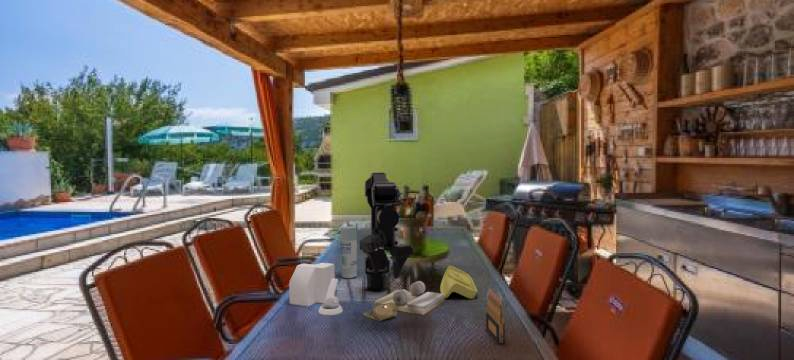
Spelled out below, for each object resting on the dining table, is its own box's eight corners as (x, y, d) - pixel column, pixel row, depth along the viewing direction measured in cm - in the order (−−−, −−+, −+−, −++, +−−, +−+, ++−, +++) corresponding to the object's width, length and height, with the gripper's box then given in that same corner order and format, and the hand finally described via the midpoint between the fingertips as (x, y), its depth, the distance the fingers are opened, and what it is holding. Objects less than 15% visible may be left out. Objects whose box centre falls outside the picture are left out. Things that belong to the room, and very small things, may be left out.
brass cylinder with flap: (382, 322, 146) (381, 308, 146) (363, 315, 153) (363, 301, 153) (397, 318, 150) (397, 303, 150) (378, 311, 157) (378, 297, 157)
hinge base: (373, 306, 161) (373, 288, 161) (397, 294, 175) (397, 277, 175) (423, 314, 153) (423, 296, 152) (444, 300, 167) (444, 283, 166)
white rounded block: (334, 298, 171) (334, 264, 171) (316, 307, 161) (315, 271, 161) (309, 294, 176) (308, 261, 175) (289, 303, 166) (288, 268, 165)
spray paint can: (360, 276, 201) (359, 226, 201) (350, 278, 195) (349, 228, 195) (347, 274, 204) (346, 226, 204) (337, 277, 199) (336, 227, 199)
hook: (349, 288, 165) (349, 280, 159) (340, 323, 159) (340, 317, 153) (327, 283, 165) (326, 276, 159) (317, 318, 159) (316, 312, 153)
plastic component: (478, 293, 168) (452, 281, 167) (468, 312, 168) (442, 299, 168) (470, 274, 187) (446, 263, 187) (461, 291, 188) (437, 280, 188)
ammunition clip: (485, 329, 140) (485, 287, 139) (492, 329, 140) (492, 287, 139) (498, 344, 129) (498, 299, 128) (505, 343, 129) (505, 298, 129)
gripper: (345, 224, 150) (346, 275, 151) (384, 229, 137) (385, 286, 137) (373, 221, 158) (374, 269, 158) (414, 226, 144) (414, 279, 144)
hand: (386, 275), depth 149 cm, fingers open, 9 cm apart
